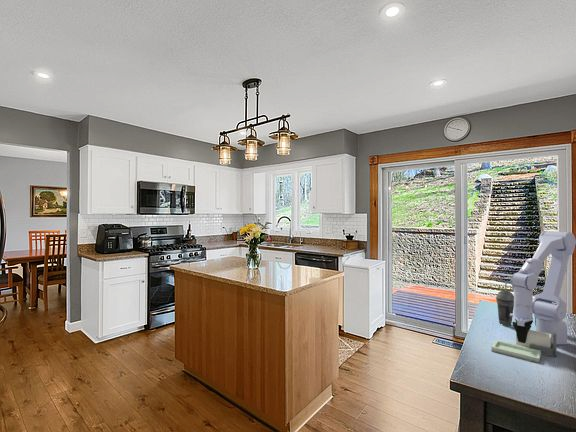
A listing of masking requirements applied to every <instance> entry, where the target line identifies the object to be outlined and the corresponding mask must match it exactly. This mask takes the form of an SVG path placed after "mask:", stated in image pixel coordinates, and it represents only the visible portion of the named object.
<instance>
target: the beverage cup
mask: <svg viewBox="0 0 576 432" xmlns="http://www.w3.org/2000/svg"><path fill="white" fill-rule="evenodd" d="M504 284H505V285H504V289H503V290H500V291H499V292H498V293H497V294H496V297H495V299H496V303H497V313H498V323H500V324H499V325H501V324H502V325H501V326H504V325H507V326H506V327H512V322H513V317H512V316H510V314H511V313H512V314H514V293H512V292H511V291H509V290H507V281H505V282H504Z"/></svg>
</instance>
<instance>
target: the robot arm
mask: <svg viewBox="0 0 576 432" xmlns="http://www.w3.org/2000/svg"><path fill="white" fill-rule="evenodd" d="M538 241H539V245H538V247H537V249H536V250H535V252H534V254H533V256H532V258H531V257H530V258H527V259H526V260H525V262H524V263H523V264H522V266H521V268H520V269H519V270H518V272H515V273H513V274H512V275H511V277H510V280H509V281H510V285H511V288H512V291H513V295H514V308H513V314H512V313H511V314H510V316H512V318H514V321H512V323H511V325H512V326H513V328H514V329H515V333H516V334H517V339H518V342H522V343H525V342H526V339H527V334H528V331H529V330H531V328H532V324H533V323H534V318H535V317H536V326H535V331H538V332H543V333H548V334H551V343H553V331H554V328H555V329H557V343H556V346H558V345H559V346H560V345H570V342H568V325H567V323H566V322H565V318H566V316H567V303H566V302H565V300H564V299H562V298H561V292H562V291H561V290H562V286H563V284H564V283H563V282H564V279H565V275H566V271H567V268H568V263H569V259H570V256H572V255H573V254H574V251H575V249H576V236H575V234H574V233H573V232H571V231H565V232H564V231H548V230H543V231H542V232H541V233H540V234H539V236H538ZM550 254H551V260H550V264H549V267H548V271H547V275H546V279H545V283H544V287H543V290H542V292H540V293H536V294H537V295H536V294H535V295H534V296H533V293H534V289H536V288H537V286H538V285H537V284H538V280H539V276H540V274H541V273H542V271H543V269H544V268H545V264H544V262H545V261H546V260H547V258H548V257H549V256H550ZM533 297H534V299H533ZM546 301H548V302H546ZM550 302H552V303H550ZM533 314H534V315H533ZM533 316H534V317H533ZM516 334H515V335H516Z"/></svg>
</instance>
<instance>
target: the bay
mask: <svg viewBox="0 0 576 432" xmlns="http://www.w3.org/2000/svg"><path fill="white" fill-rule="evenodd" d="M556 343H557V329H555V328H554V331H553V343H551V348H547V347H543V346H539V345H534V344H530V348H532V349H536V350H540V351H541V355H545V356H549V357H554V358H556V357H557V345H556Z"/></svg>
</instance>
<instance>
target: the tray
mask: <svg viewBox="0 0 576 432" xmlns="http://www.w3.org/2000/svg"><path fill="white" fill-rule="evenodd" d="M491 351H492V352H495V353H499V354H503V355H506V356H510V357H514V358H518V359H521V360H525V361H529V362H534V363H538V364H540V362H541V356H542V354H541V351H540V350H536V349H532V348H527V347H523V346H519V345H516V343H514V344H513V343H511V342H505V341H501V340H495V341H494V342H493V344H492V345H491Z"/></svg>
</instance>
